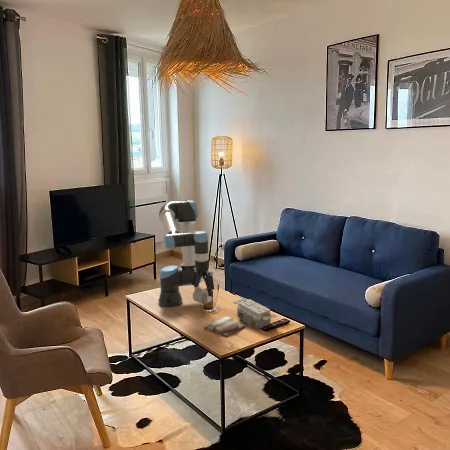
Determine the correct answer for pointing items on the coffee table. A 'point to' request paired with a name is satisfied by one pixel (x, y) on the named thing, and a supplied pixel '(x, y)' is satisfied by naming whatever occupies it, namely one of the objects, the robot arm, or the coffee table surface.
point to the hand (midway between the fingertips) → (203, 299)
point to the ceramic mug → (200, 296)
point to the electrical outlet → (253, 313)
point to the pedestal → (224, 326)
